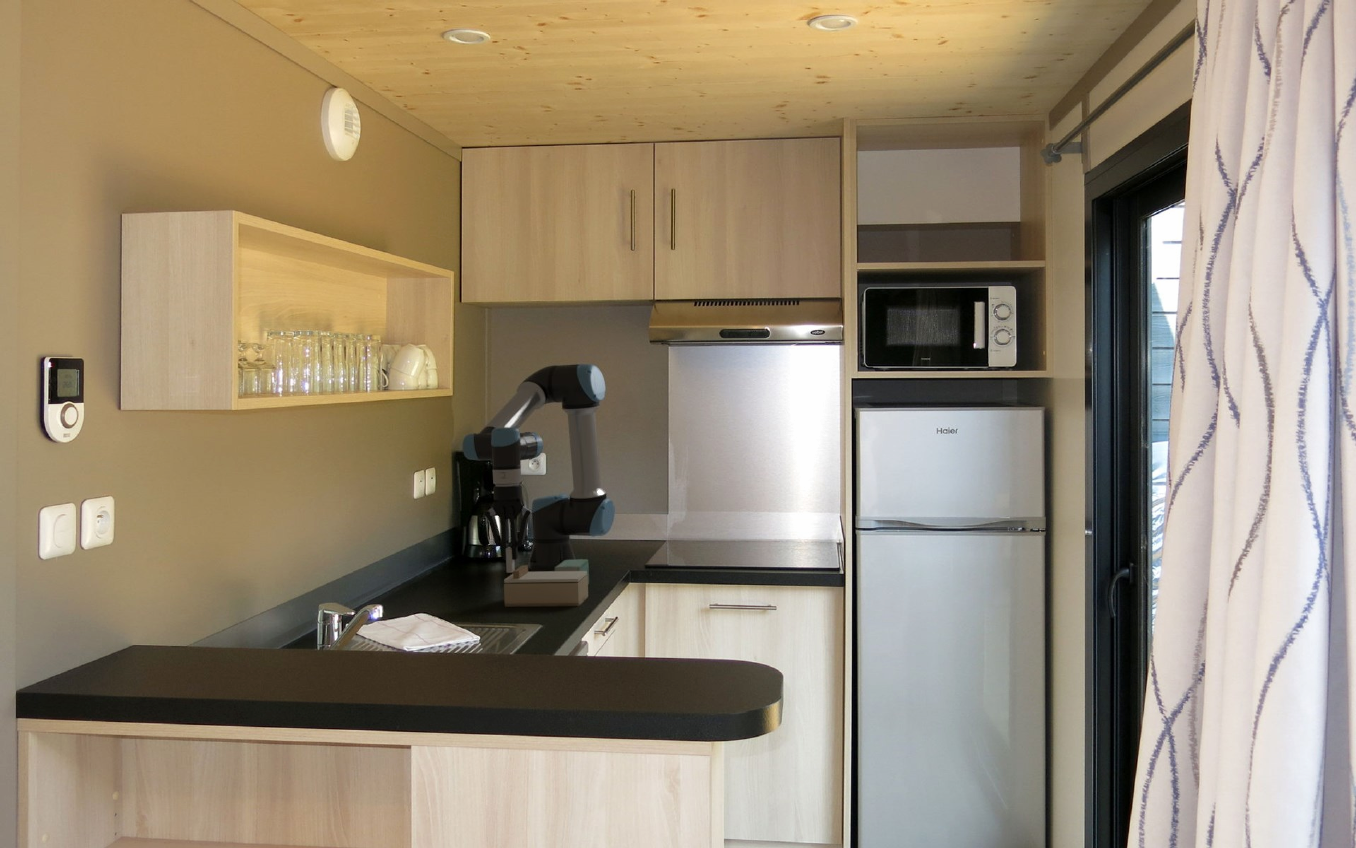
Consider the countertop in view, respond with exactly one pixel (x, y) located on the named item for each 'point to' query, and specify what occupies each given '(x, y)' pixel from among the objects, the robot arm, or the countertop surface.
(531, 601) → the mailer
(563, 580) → the lid
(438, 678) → the countertop surface
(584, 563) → the box
